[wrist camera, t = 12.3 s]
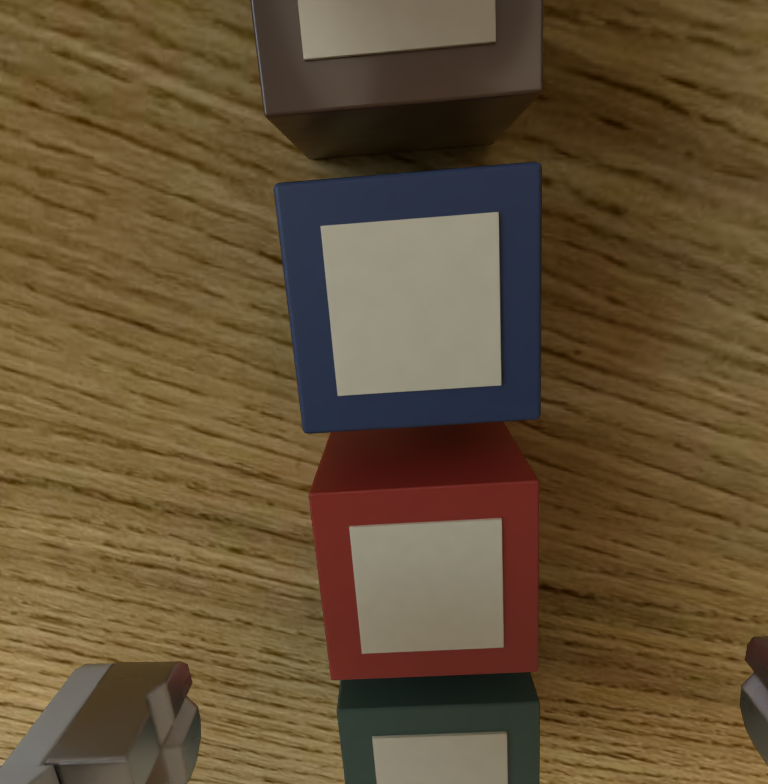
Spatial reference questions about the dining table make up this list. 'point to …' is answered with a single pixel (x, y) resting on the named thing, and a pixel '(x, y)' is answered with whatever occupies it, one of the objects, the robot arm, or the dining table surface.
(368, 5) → the walnut letter block
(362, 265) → the navy letter block
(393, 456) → the red letter block
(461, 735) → the slate green letter block
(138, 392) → the dining table surface
